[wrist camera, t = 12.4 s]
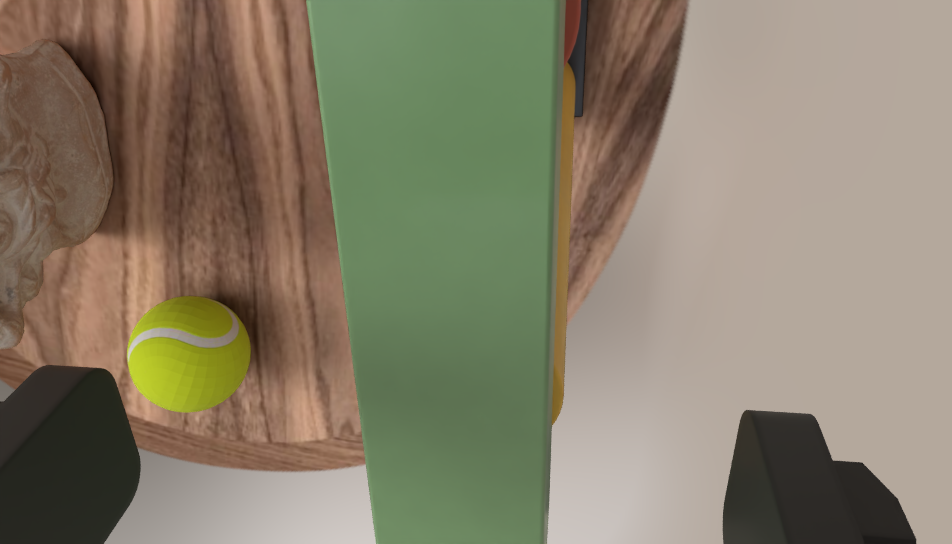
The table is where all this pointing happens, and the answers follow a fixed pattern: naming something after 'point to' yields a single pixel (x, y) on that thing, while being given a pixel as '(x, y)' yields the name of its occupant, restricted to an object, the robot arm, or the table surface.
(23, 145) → the sculpture
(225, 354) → the tennis ball
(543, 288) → the bar
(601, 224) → the table surface
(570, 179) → the rods
